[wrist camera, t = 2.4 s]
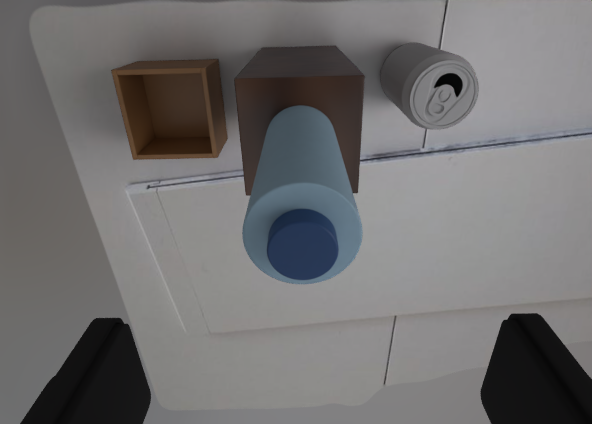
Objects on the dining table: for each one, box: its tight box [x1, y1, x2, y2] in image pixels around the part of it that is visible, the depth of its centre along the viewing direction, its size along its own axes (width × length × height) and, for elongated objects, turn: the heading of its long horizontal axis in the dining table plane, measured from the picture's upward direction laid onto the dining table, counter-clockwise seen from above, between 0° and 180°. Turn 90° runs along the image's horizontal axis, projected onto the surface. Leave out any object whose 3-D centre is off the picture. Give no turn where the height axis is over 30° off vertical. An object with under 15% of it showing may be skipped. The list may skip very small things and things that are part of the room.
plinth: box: [234, 46, 365, 195], centre depth 34 cm, size 8×8×20 cm
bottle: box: [242, 105, 362, 284], centre depth 19 cm, size 5×5×13 cm
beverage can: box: [381, 43, 479, 129], centre depth 37 cm, size 6×6×12 cm
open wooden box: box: [111, 59, 227, 160], centre depth 41 cm, size 9×9×6 cm
